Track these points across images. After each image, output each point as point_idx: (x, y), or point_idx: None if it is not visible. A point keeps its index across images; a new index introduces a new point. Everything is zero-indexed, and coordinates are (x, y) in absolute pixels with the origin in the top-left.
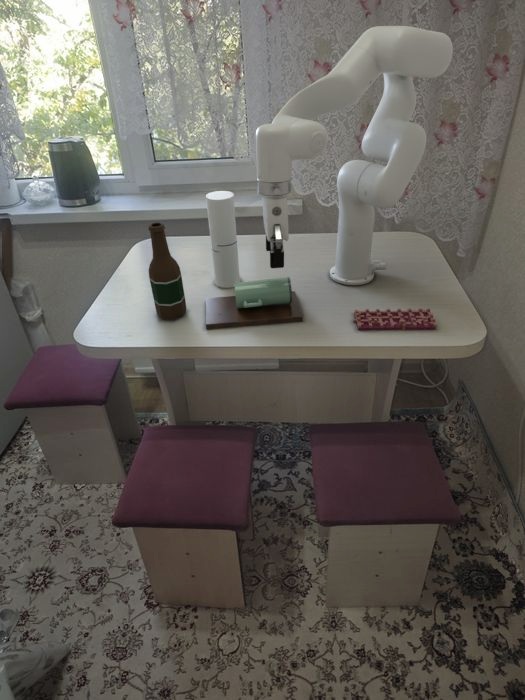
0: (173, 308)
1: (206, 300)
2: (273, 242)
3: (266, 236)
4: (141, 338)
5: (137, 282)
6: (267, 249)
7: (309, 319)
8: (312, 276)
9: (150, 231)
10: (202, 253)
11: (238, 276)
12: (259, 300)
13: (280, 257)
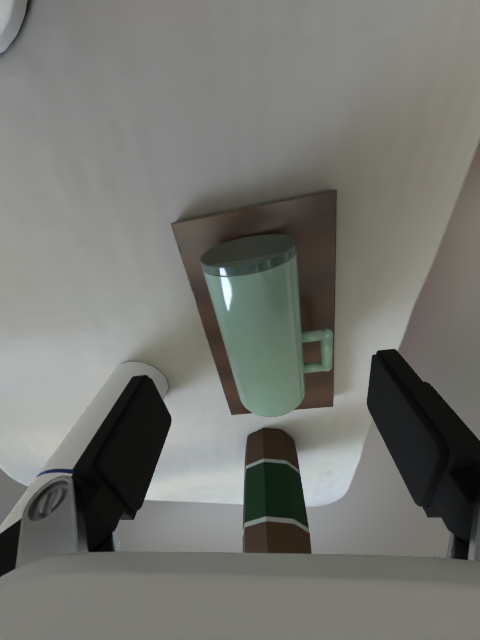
0: (295, 460)
1: (241, 413)
2: (140, 441)
3: (132, 513)
4: (339, 462)
5: (176, 483)
6: (167, 425)
7: (320, 163)
8: (22, 154)
9: None
10: (37, 428)
11: (133, 375)
12: (315, 339)
13: (467, 431)
